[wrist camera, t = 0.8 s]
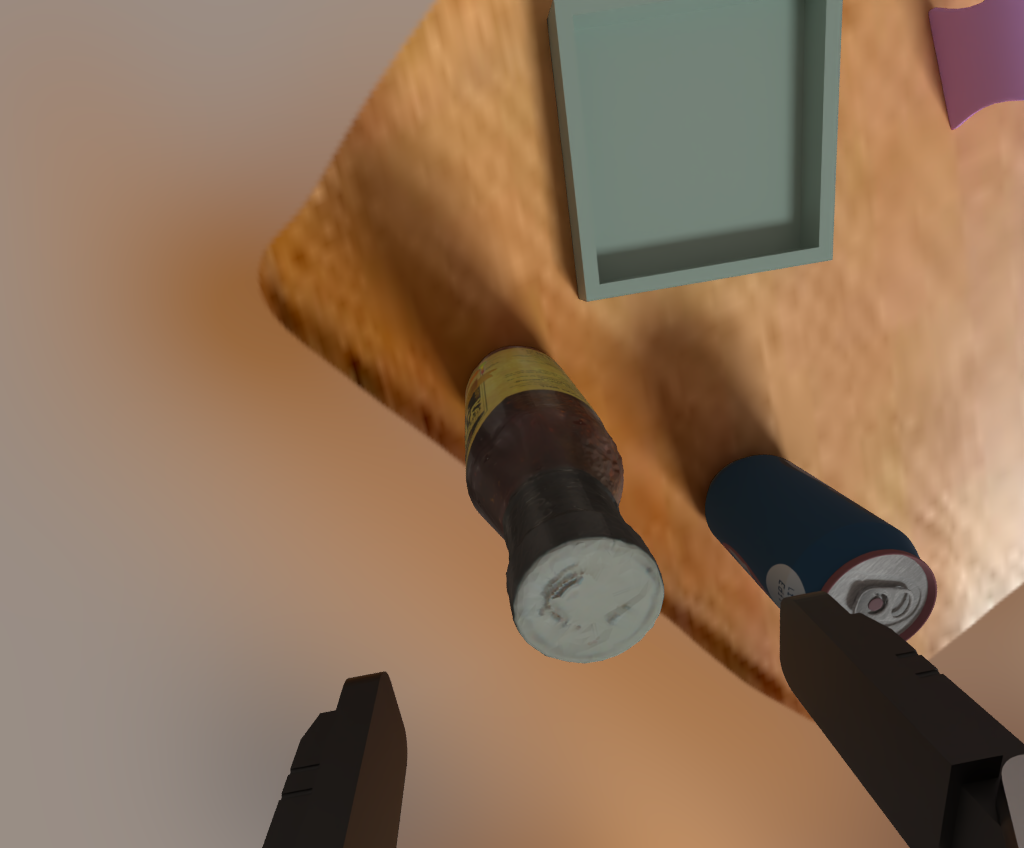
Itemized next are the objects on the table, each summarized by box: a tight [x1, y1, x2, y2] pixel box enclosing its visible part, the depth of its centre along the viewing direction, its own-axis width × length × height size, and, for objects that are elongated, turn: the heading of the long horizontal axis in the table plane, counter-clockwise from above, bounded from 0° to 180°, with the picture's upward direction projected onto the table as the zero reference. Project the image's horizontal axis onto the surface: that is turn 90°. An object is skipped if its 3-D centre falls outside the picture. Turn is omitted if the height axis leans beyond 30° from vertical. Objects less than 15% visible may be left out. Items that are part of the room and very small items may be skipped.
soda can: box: [705, 455, 937, 641], centre depth 29 cm, size 7×7×12 cm
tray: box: [547, 0, 843, 302], centre depth 27 cm, size 14×14×2 cm
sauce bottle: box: [465, 346, 664, 663], centre depth 22 cm, size 6×6×20 cm
